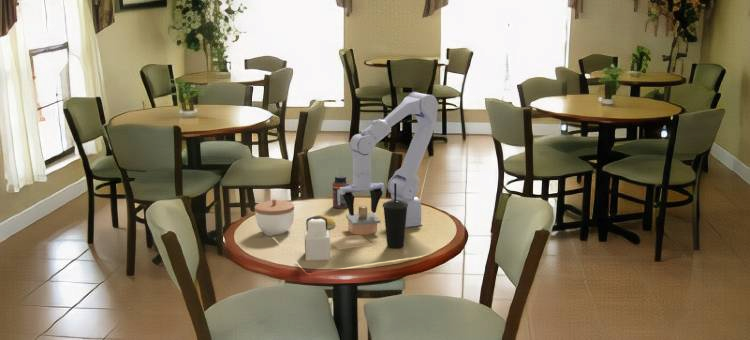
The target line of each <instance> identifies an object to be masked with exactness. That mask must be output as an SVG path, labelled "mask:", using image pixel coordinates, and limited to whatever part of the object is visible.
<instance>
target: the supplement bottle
mask: <svg viewBox="0 0 750 340" xmlns="http://www.w3.org/2000/svg"><path fill="white" fill-rule="evenodd" d="M345 186H350V183H349V182H348V181H347V176H346V175H345V174H337V175H335V176H334V181H333V182H332V206H333V208H335V209H346V208H348V206H347V203H346V201H345V199H344V197H343V195H342V194H340V187H345Z"/></svg>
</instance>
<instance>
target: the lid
mask: <svg viewBox="0 0 750 340" xmlns="http://www.w3.org/2000/svg"><path fill="white" fill-rule="evenodd" d="M345 218H346V219H347V221H348V220H349V222H350V223H351V224H352V225H364V224H375V223H377V224H381V219H379V218H378V217H377V215H376V214H375V213H373V212H368V206H366V205H360V206H358V214H357V213H356V214H355V213H354V215H353V216H351V215H350V214H347V215H345Z"/></svg>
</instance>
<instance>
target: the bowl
mask: <svg viewBox="0 0 750 340" xmlns="http://www.w3.org/2000/svg"><path fill="white" fill-rule="evenodd" d="M347 223H348V226H347V228H348V229H347V230H348V232H349V233H351V234H352V235H353V234H354V235H361V236H364V235H365V236H366V235H373V234H375V233H376V232H377V231H378V223H375V224H364V225H352V224H351V223H350V222H349V220H348V219H347Z"/></svg>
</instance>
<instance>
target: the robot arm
mask: <svg viewBox="0 0 750 340" xmlns="http://www.w3.org/2000/svg"><path fill="white" fill-rule="evenodd" d="M439 107H440V105H439V102H438V100H437V98H436V96H434V95H432V94H427V93H426V94H425V93H421V92H418V91H412V92H411V93H409V94H408V95H407V96H406V97H404V98H403V100H402V101H401V103H399V104H398V106H396V107H395V108H394V109H393V110H392V111H391V112H389V114H388V115H386V116H385V117H384V118H383V119H381V118H380V119H373V121H371V124H370V125H369V126H368V127H366V128H365V129H362V130H361V132H360V133H357V134H354V135H353V136H352V137H351V139H350V141H349V143H348V147H349V148H350V150H351V153H352V154H351V155H352V184H349V186H345V187H340V194H342V195H343V197H344V199H345V201H346V203H347V206H348V207H347V209H348V213H349V214H348V215H351V216H353V215H355V213H354V212H355V211H354V210H355V209H354V208H355V207H354V203H355V196H354V194H355V193H361V192H370V209H371V211H370V212H371V213H373V214H375V213H377V209H378V205H379V202H380V199H381V198H382V196H383V190H385V183H383V182H372V159H371V158H372V152H374V149H375V147H376V145H377V144H379V142H380V141H382V139H384V138H385V137H386V136H388V135H389V134H390V130H391V127H393V126H394V125H396V124H397V123H399V122H400V121H402V120H403V119H404V118H405V117H407V116H409V115H413V116H415V119H416V121H417V123H418V124H417V127H416V129H415V132H414V134H413V137H412V138H411V142H410V143H409V147H408V149H407V151H406V154H405V157H404V160H403V162H402V164H401V167H400V168H399V169H397V170H395V171H394V173H393V176H392V177H391V178H390V179H389V180H388V182H387V186H386V187H387V191H388V192H389V193H390V197H391V200H394V183H396V200H401V201H403V202H406V203H408V207H407V214H406V225H405V228H411V227H417V226H418V227H419V226H423V223H422V203H421V200H420V198H419V197H417V194H418V190H419V188H418V187H419V182H420V179H419V176H418V171H419V168H420V167H421V164H422V161H423V158H424V156H425V153H426V151H427V148H428V146H429V144H430V142H431V139H432V136H433V133H434V131H435V128H436V126H437V120H438V119H437V113H438V110H439Z"/></svg>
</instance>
